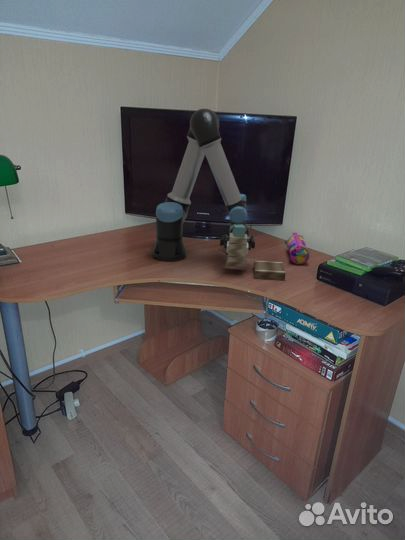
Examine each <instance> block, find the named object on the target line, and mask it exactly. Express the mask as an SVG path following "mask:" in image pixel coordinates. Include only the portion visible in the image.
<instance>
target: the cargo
mask: <svg viewBox="0 0 405 540" xmlns="http://www.w3.org/2000/svg"><path fill="white" fill-rule="evenodd" d="M232 234H233V236H234V237H245V226H244V225H233V233H232Z"/></svg>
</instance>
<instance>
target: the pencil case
mask: <svg viewBox="0 0 405 540" xmlns="http://www.w3.org/2000/svg"><path fill="white" fill-rule="evenodd" d="M284 245H286V246H287V251H288V253H289V259H290V261H291V262H292V263H293V264H295V265H304V264H306V263H307V262H308V261H309V259H310V251H309V249H308V248H307V245H306V241H305V239H304V237H303V236H302V235H300V234H298V232H292V235H290V236H289V238H287V239H286V240H285V241H284Z"/></svg>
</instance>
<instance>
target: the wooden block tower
mask: <svg viewBox="0 0 405 540" xmlns="http://www.w3.org/2000/svg"><path fill="white" fill-rule="evenodd" d="M229 233H230V232H229ZM247 237H248V234H247V233H246V234H245V237H234V236H233V234H232V233H230V238H229V250H228V252H227V256H226V260H225V266H227V267H228V266H229V267H237V268H238V267H239V268H247V267H246V266H247V258H246V255H247V254H246V246H247Z"/></svg>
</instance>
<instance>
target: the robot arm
mask: <svg viewBox="0 0 405 540" xmlns="http://www.w3.org/2000/svg"><path fill="white" fill-rule="evenodd" d="M220 125H221V124H220V118H219V116H218V114H217V113H216V112H215V111H213V110H212V109H209V108H199V109H198V110H195V112H194V113H192V115H191V117H190V119H189V130H188V131H187V132H188V133H187V134H186V138H187V140H188V143H187V146H186V150H185V152H184V154H183V155H184V156H183V158H182V161H181V165H180V167H179V169H178V172H177V176H176V179H175V182H174V185H173V188H172V190H171V191H170V192H169V193H167V196H166V198H165V201H164V202H161V203H159V204H158V205H157V206H156V209H155V226H156V228H155V229H156V233H155V234H156V239H155V243H154V245H153V246H154V247H153V250H152V257H153V258H154V257H155V258H157V259H156V260H158V259H160V260H159V261H161V260H165V261H164V262H176V261H175V260H178V261H181V260H180V259H182V260H184V259H185V258H186V257H187V251H186V247H185V244H184V243H185V242H184V240H183V232H184V231H183V226H184V225H183V224H184V223H185V220H186V219H187V217H188V214H189V212H188V211H189V210H190V206H191V204H192V201H191V199H190V197H191V194H192V192H193V189H194V186H195V184H196V181H197V179H198V178H197V177H198V175H199V172H200V169H201V167H202V163H203V161H204V158H206V159H207V163H208V165H209V167H210V170H211V172H212V175H213V177H214V180H215V182H216V185H217V187H218V190H219V192H220V195H221V197H222V200H223V202H224V205H225V207H226V210H227V212H228V217H229V233H228V234H226V233H222V236H221V238H220V242H219V246H221V247H223V248H224V249H226V252H225V253H228V250H229V238H230V233H233V225H244V226H245V234H247V217H248V211H247V195H246V194H244V193H241V192H240V190H239V188H238V185H237V183H236V181H235V176H234V174H233V172H232V170H231V167H230V164H229V161H228V159H227V157H226V154H225V151H224V149H223V146H222V144H221V141H222V137H221V134H220V130H219V129H220ZM255 247H256V242H255V240H254V236H253V235H250V236H247V246H246V255H248V254H249V251H251V250H252V249H255ZM155 258H154V259H155ZM183 258H184V259H183Z"/></svg>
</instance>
